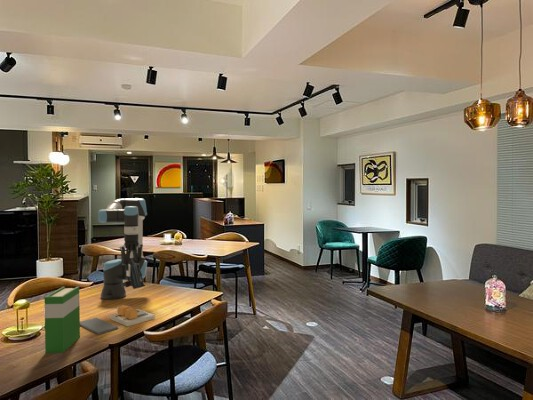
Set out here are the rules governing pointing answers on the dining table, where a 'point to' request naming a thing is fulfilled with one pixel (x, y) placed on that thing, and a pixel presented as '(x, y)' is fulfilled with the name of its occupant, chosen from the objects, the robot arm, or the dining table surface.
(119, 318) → the light grey tray
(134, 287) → the gun
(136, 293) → the dining table surface
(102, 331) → the mat
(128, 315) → the orange block
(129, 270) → the robot arm
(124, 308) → the orange wooden block
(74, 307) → the hardback book
